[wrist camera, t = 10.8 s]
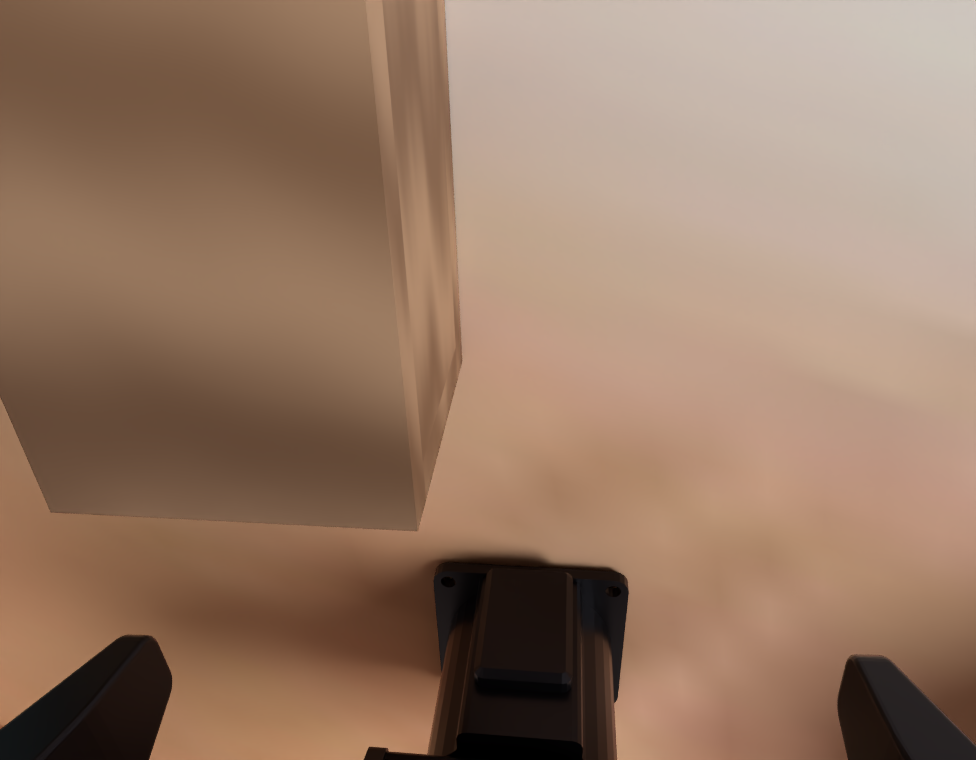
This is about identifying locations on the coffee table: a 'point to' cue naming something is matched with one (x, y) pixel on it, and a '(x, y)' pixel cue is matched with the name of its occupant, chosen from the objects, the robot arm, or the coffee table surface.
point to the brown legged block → (228, 256)
